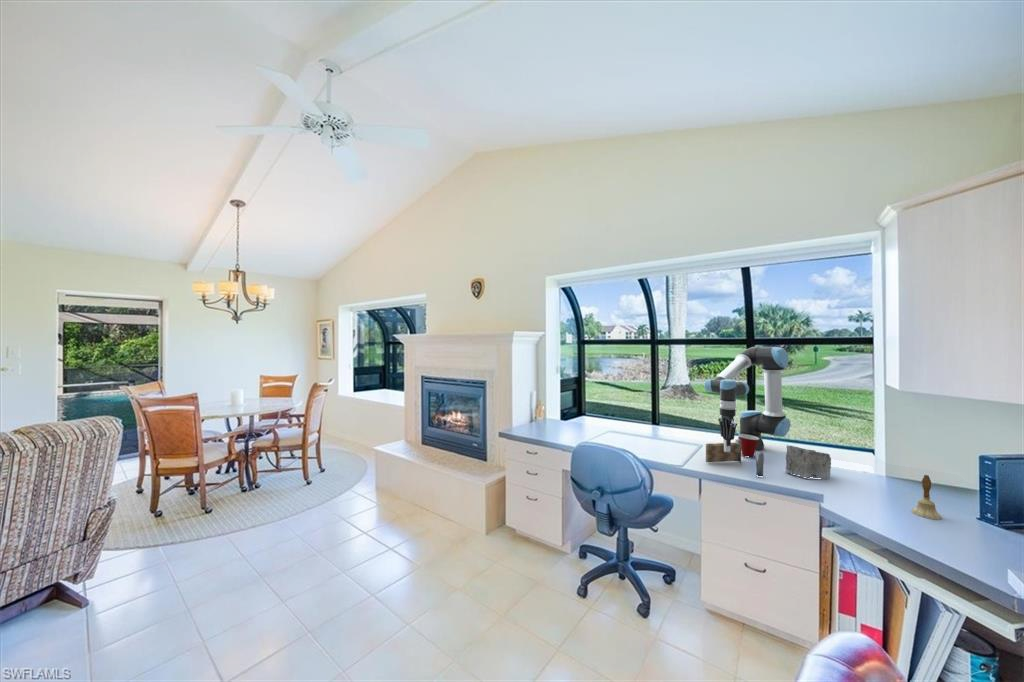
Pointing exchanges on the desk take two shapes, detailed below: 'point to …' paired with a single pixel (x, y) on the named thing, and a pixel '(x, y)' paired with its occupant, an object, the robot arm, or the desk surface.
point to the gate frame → (759, 459)
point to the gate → (721, 452)
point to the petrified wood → (808, 463)
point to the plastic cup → (748, 444)
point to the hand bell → (926, 502)
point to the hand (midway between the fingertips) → (727, 451)
